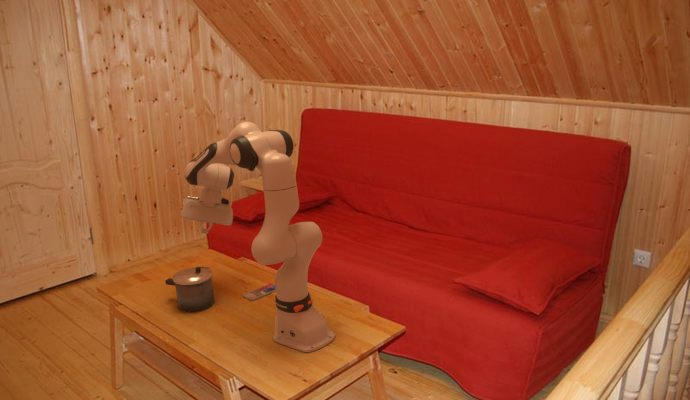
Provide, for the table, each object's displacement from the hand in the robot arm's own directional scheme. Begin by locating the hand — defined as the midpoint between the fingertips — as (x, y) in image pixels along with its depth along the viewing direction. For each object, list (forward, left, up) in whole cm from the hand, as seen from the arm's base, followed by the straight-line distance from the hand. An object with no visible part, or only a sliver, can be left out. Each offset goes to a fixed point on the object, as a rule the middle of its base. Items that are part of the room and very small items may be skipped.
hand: (204, 233), depth 223 cm
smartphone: (-16, -13, -27) cm, 34 cm away
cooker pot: (-1, +11, -26) cm, 28 cm away
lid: (-4, +9, -15) cm, 18 cm away
